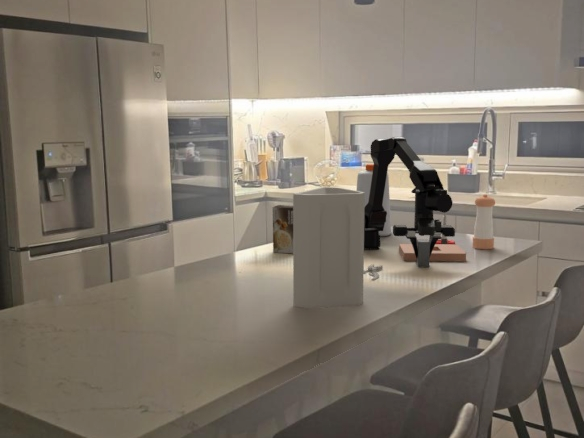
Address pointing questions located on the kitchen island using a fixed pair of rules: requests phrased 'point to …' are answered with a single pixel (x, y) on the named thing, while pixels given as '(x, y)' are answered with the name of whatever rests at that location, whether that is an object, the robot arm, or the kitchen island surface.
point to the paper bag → (328, 247)
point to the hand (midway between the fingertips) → (422, 257)
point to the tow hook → (444, 239)
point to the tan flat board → (435, 252)
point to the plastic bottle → (364, 186)
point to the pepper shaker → (484, 223)
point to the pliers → (373, 271)
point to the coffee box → (283, 229)
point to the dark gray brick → (423, 253)
